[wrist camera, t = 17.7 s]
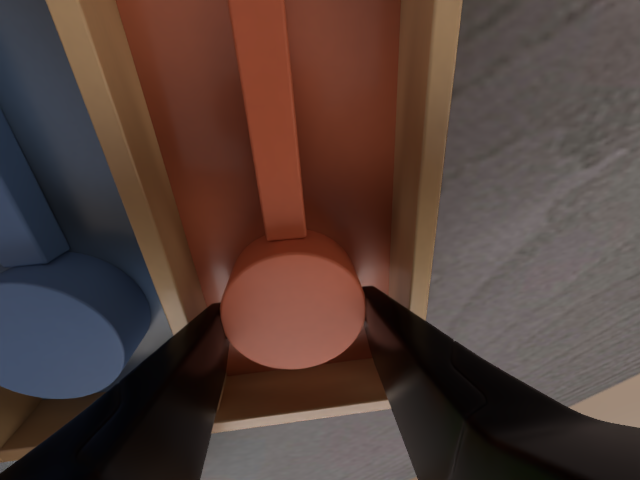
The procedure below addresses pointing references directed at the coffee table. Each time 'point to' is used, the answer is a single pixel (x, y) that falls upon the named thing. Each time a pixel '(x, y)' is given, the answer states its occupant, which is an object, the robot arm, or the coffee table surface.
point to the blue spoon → (57, 297)
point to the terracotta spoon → (283, 220)
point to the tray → (229, 168)
